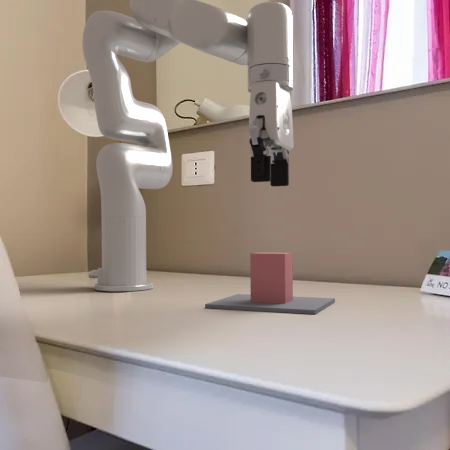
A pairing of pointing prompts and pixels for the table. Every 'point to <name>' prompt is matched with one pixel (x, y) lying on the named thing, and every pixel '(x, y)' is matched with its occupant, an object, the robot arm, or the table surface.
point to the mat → (273, 304)
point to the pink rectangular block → (271, 277)
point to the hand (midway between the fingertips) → (270, 183)
